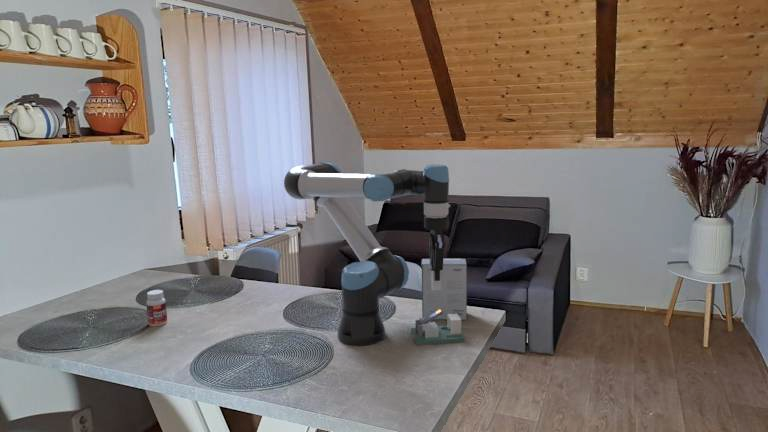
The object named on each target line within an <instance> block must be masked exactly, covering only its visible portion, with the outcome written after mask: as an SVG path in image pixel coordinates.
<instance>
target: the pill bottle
mask: <svg viewBox="0 0 768 432" xmlns="http://www.w3.org/2000/svg"><path fill="white" fill-rule="evenodd" d="M146 294H147V295H146V296H147V297H146V298H147V300H146V304H145V305H146V313H147V323H148V325H149V326H151V327H160V326H164V325H166V324H167V323H168V313H167V312H168V311H167V302H166V299H165V298H164V290H162V289H153V290H150V291H148V292H147V293H146Z"/></svg>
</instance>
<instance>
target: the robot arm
mask: <svg viewBox="0 0 768 432" xmlns="http://www.w3.org/2000/svg"><path fill="white" fill-rule="evenodd" d="M283 184H284V185H283V186H284V189H285V192H286V193H287V194H288V196H290V197H291V198H293V199H296V200H311V199H312V200H313V202H314V203H315V204H316V206H317V207H320V208H324V210H325V212H326V213H327V214H328V215H329V217H330V218H331V220H332V221H333V223H334V224H335V226H336V227H337V229H338V230H339V231H340V233H341V234H342V236H343V237H344V239H345V240H346V242H347V243H348V245H349V247H350V248H351V249H352V251H353V252H354V254H355V255H356V257H357V258H358V260H359V261H354V262H351V263H349V264H348V265H345V267H344V268H343V269H342V272H341V280H340V284H341V301H342V302H341V304H342V315H341V318H340V322H339V324H338V328H337V339H338V341H340V342H342V343H344V344H347V345H352V346H366V345H373V344H377V343H379V342H380V341H382V340H384V338H385V337H386V328H385V325H384V323H383V320H382V317H381V313H380V299H382V298H384V297H386V296H388V295H390V294H393V293H396V292H398V291H400V290H401V289H402V288H404V287H405V286H406V284H407V283H408V280H409V274H410V272H409V271H410V270H409V266H408V264H407V262H406V260H405V259H404V258H403V257H402V256H399V255H395V254H393V253H392V251H390V249H389V248H388V247H384V246H381V244H380V243H379V241H378V240H377V239H376V237H375V236H374V234H373V233H372V232H371V230H370V229H369V227H368V226H367V224H366V223H365V222H364V220H363V218H362V217H361V216H360V214H359V213H358V211H357V210H356V209H355V207H354V206H353V205H352V203H351V202H350V200H349V199H366V200H367V199H368V200H370V201H372V202H385V201H387V200H390V199H395V198H399V197H403V196H407V195H415V196H423V215H424V218H423V227H424V229H426V230H428V231H430V233H428V244H429V245H428V246H429V247H428V248H429V249H428V250H429V259H430V265H431V271H432V290H441V270H443V259H444V258H445V257H444V255H445V254H444V253H445V252H444V251H445V245H446V243H445V241H444V240H445V236H444V234H443V231H444V230H448V228H449V226H450V223H449V222H450V221H449V220H450V219H449V216H448V215H449V208H451V204H449V195H450V194H449V193H450V191H449V189H450V188H449V187H450V186H449V185H450V175H449V167H448V166H447V165H445V164H426V165H424V167H423V170H412V169H411V170H409V169H404V168H403V169H395V170H393V171H392V172H391V173H342V170H341V169H340V168H339V167H338V165H335V164H334V163H331V162H318V163H314V164H313V163H312V164H304V165H297V166H294V167H292V168H291V169H289V171H287V173H286V174H285V176H284V180H283ZM348 198H349V199H348Z"/></svg>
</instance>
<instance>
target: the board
mask: <svg viewBox="0 0 768 432" xmlns="http://www.w3.org/2000/svg"><path fill="white" fill-rule="evenodd" d="M424 319H425V318H422V317H419V319H415V321H414V323H415V324H414V325H415V327H411V333H412V336H413V338H414V341H415V343H416V345H417V346H421V345H435V344H450V343H451V344H452V343H453V344H454V343H465V336H464V335H463V334H462V332H461V334H451V329H448V328H447V325H437V324H436V322H435V321H430V322H428V323H427V324H422V325H418V327H417V325H416V323H417V322H420V321H422V320H424Z"/></svg>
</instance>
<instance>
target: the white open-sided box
mask: <svg viewBox="0 0 768 432" xmlns="http://www.w3.org/2000/svg"><path fill="white" fill-rule="evenodd" d="M446 320H447V325H446V326H447V328H448V329H451V334H461V333H462V320H461V318H460V317H459V315H458V314H447V319H446Z"/></svg>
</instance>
